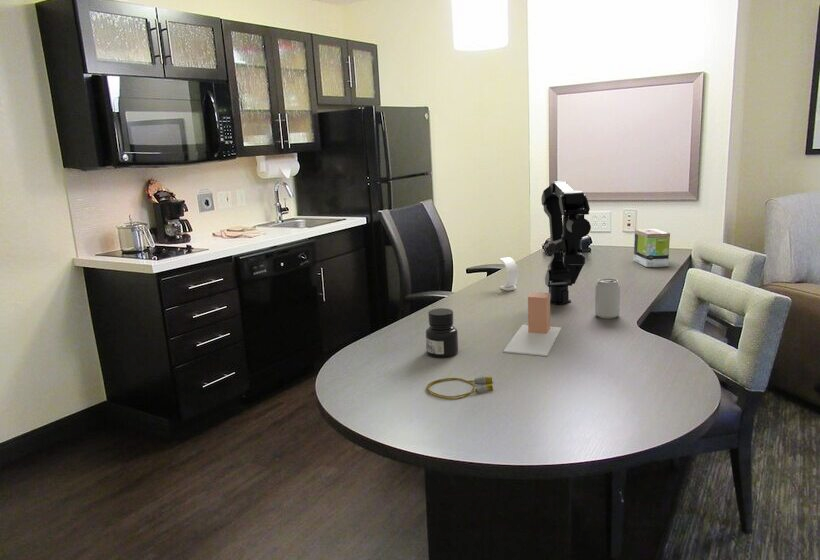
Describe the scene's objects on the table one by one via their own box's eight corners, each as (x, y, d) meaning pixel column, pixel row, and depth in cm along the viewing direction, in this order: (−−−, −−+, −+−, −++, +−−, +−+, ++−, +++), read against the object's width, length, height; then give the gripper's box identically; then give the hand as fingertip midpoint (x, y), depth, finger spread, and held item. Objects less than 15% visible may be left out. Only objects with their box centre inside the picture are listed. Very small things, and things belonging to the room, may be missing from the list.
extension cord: (486, 405, 129) (486, 397, 128) (420, 398, 134) (420, 390, 134) (497, 383, 140) (497, 376, 139) (436, 378, 145) (435, 370, 145)
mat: (522, 325, 180) (522, 324, 180) (561, 328, 175) (561, 327, 175) (503, 352, 159) (503, 350, 159) (547, 356, 154) (547, 354, 154)
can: (621, 319, 181) (622, 282, 178) (596, 319, 182) (597, 282, 180) (617, 312, 188) (618, 276, 185) (593, 312, 190) (594, 277, 187)
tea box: (669, 266, 247) (670, 232, 244) (645, 267, 247) (647, 233, 244) (655, 259, 262) (656, 227, 258) (632, 261, 262) (634, 228, 259)
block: (532, 326, 178) (531, 292, 175) (550, 327, 176) (550, 293, 173) (528, 332, 173) (527, 296, 170) (546, 333, 170) (546, 297, 168)
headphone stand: (509, 286, 229) (509, 256, 226) (518, 289, 224) (518, 259, 221) (499, 288, 227) (499, 258, 225) (508, 291, 222) (508, 260, 219)
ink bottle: (421, 350, 164) (418, 310, 161) (448, 344, 167) (446, 305, 164) (435, 361, 155) (433, 318, 152) (464, 355, 158) (463, 313, 156)
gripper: (544, 227, 190) (544, 273, 194) (547, 237, 172) (546, 288, 176) (579, 226, 188) (578, 273, 192) (585, 237, 170) (584, 287, 174)
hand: (571, 280), depth 184 cm, fingers open, 9 cm apart
